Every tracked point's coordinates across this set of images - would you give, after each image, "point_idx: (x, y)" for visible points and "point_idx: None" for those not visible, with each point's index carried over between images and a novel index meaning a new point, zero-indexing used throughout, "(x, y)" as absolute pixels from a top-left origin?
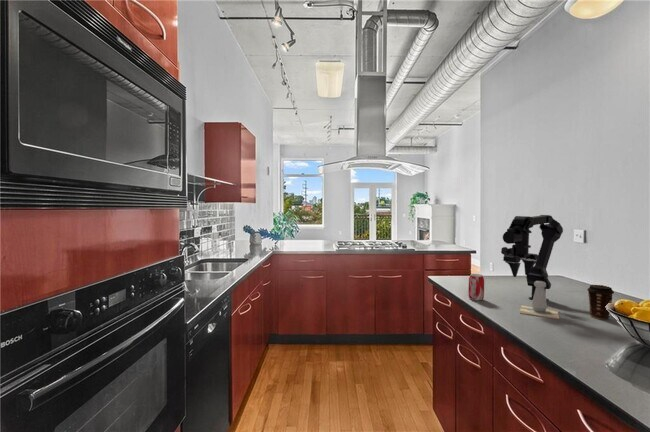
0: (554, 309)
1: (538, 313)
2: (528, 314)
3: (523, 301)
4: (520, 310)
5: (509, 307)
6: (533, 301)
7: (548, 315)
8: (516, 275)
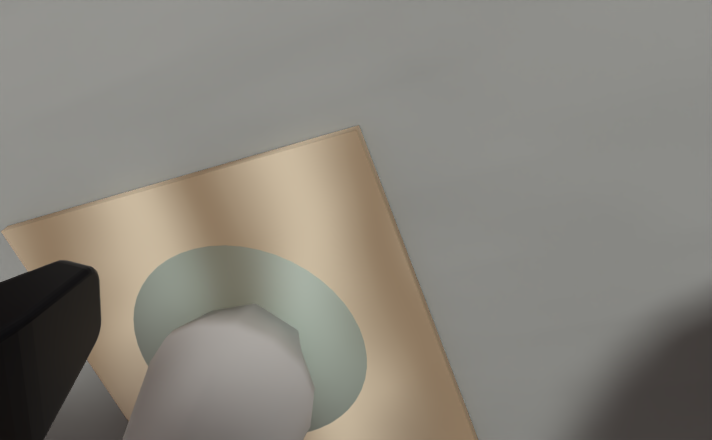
0: (471, 437)
1: None
2: None
3: (683, 53)
4: (82, 209)
5: (121, 47)
6: (145, 386)
7: None
8: (65, 389)
